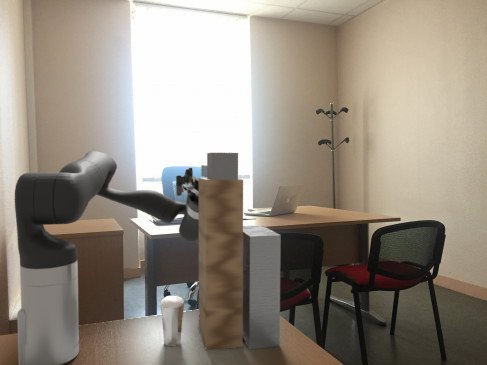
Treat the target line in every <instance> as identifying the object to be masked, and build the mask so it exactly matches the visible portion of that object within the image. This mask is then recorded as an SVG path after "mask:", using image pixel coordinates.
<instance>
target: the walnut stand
mask: <svg viewBox="0 0 487 365" xmlns="http://www.w3.org/2000/svg"><path fill="white" fill-rule="evenodd" d="M198 180H199V240H198V330H199V334H200V337H201V339H202V343H203V346H204V349H205V351H216V350H223V349H232V348H240V347H241V348H242V347H243V337H242V319H243V226H244V179H241V178H238V180H210V179H207V177H198Z"/></svg>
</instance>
